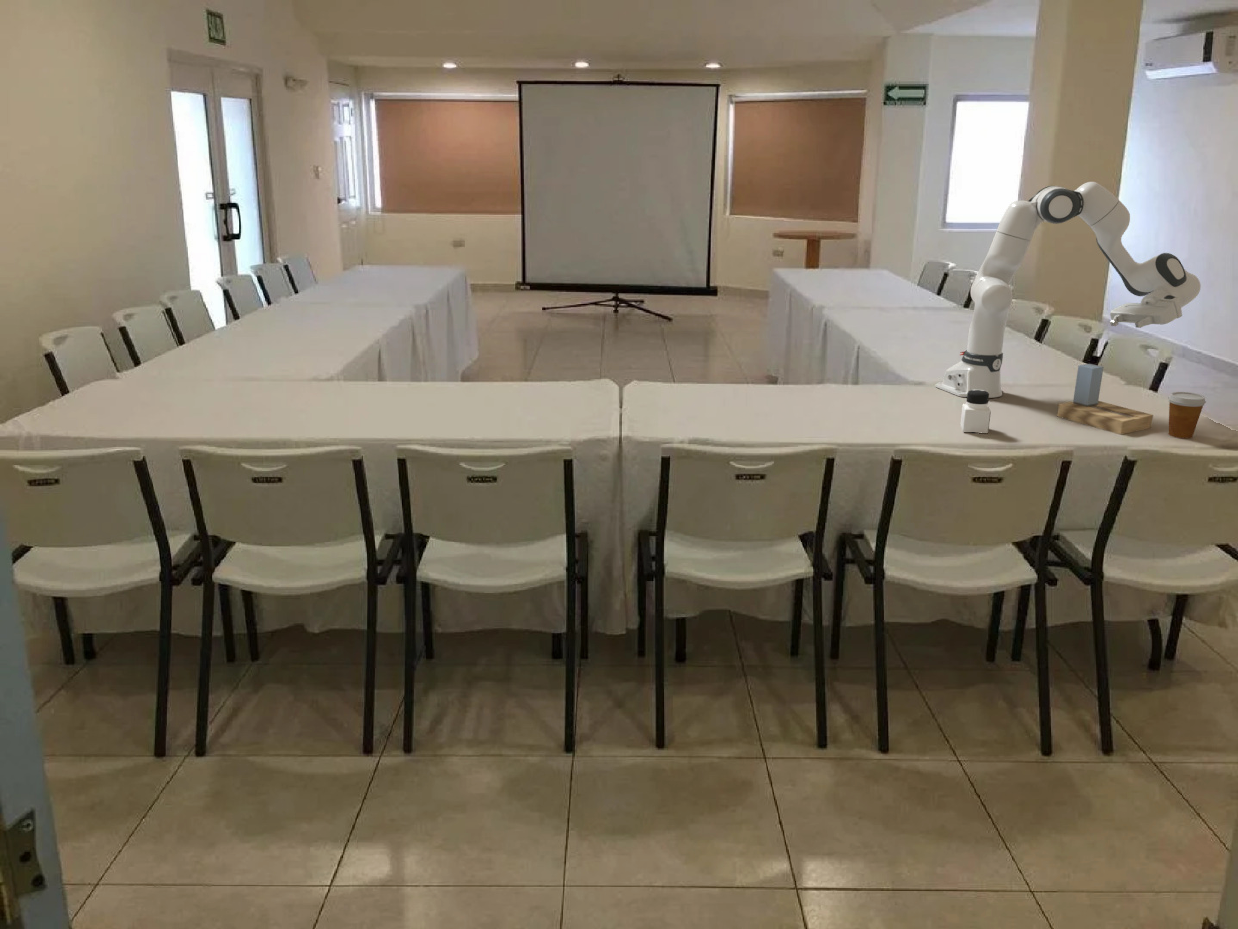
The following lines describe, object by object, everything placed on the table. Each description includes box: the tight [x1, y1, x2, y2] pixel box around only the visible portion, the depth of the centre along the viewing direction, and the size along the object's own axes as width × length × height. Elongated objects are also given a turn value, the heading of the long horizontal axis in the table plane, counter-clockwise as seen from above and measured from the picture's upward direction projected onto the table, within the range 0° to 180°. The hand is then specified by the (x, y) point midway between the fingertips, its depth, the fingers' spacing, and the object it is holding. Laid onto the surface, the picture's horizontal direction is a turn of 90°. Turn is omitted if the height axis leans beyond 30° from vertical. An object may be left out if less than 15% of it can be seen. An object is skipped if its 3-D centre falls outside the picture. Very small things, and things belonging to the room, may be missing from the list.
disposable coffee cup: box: [1167, 391, 1207, 439], centre depth 293 cm, size 10×10×12 cm
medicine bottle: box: [959, 390, 991, 434], centre depth 298 cm, size 7×7×12 cm
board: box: [1056, 400, 1154, 435], centre depth 307 cm, size 22×14×4 cm, turn 29°
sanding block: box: [1072, 363, 1104, 407], centre depth 311 cm, size 5×5×12 cm
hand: (1124, 324), depth 312 cm, fingers open, 8 cm apart
